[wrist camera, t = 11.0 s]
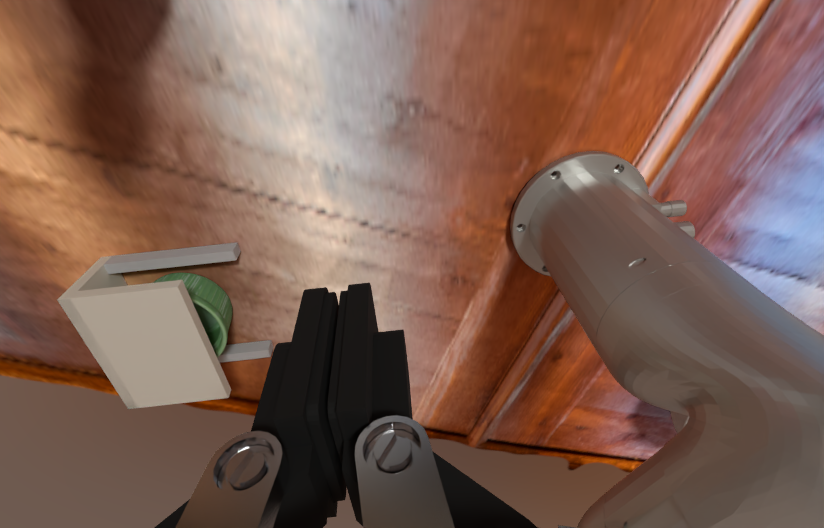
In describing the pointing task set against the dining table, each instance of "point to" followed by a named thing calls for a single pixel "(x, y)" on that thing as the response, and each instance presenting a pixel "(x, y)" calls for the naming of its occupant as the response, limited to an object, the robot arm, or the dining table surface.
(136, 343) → the overhang shelf
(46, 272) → the dining table surface
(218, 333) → the ramekin
